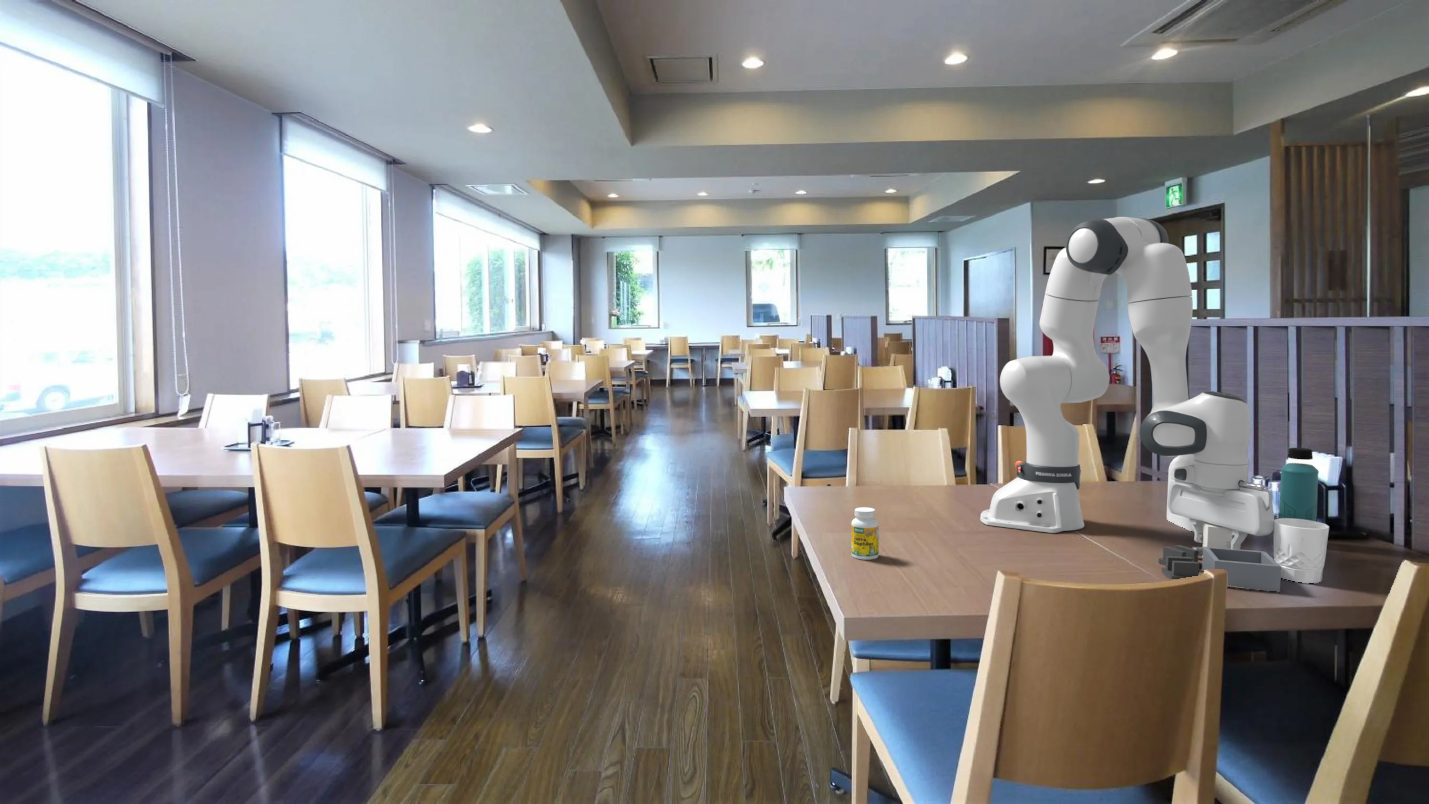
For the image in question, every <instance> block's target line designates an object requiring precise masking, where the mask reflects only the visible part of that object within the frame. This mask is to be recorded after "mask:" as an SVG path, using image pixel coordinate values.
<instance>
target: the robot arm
mask: <svg viewBox="0 0 1429 804" xmlns="http://www.w3.org/2000/svg"><path fill="white" fill-rule="evenodd" d="M1186 261H1187V260H1186V257H1185V254H1184V253H1183V250H1182V249H1181V248H1180V247H1179V246H1177V245H1174V244H1171V243H1169V235H1168V232H1167V230H1166V229H1165V227H1163V226H1162V225H1161V224H1160V223H1159V222H1157V221H1155V220H1152V219H1149V218H1146V217H1145V218H1144V217H1139V218H1138V217H1129V216H1117V217H1109V218H1093V219H1088V220H1085V221H1083V222H1081V223H1079V224H1077V225H1076V226H1075V227H1073V229H1072V230H1071V231H1070V232H1069V234H1068V236H1067V239H1066V243H1065V247H1064V248H1062V249H1061V250H1060V251H1058V253H1057V255H1056V257H1055V259H1054V261H1053V265H1052V267H1051V270H1050V272H1049V277H1048V280H1047V283H1046V287H1045V292H1044V297H1043V302H1042V307H1041V308H1042V309H1041V312H1040V318H1039V329H1040V330H1041V331H1042V333H1043V335H1045V336H1046V337H1047V338H1049V339H1050V340H1052V345H1053V352H1052V355H1031V356H1023V357H1021V358H1016V359H1013V360H1010V361H1008V362H1007V363H1006V364H1005V365H1004V366H1003V368H1002V370H1001V373H1000V377H999V386H1000V390H1001V391H1002V394H1003V395H1004V396H1005V399H1007V400H1009V401H1010V402H1011V403H1012V404H1013V405H1014V406H1015V408H1016V409H1017V410H1018V411H1019V413H1020V415H1021V418H1022V421H1023V424H1024V428H1025V436H1026V437H1025V439H1026V442H1025V443H1026V461H1022V460H1018V461H1016V462H1015V465H1014V467H1015V469H1016V477H1015V478H1014V479H1012V480H1011V481H1009V482H1008V483H1006V484H1005V485H1003V486H1001V487H1000V488H999V489H997V490H996V491H995V492H994V494H993V495H992V497H991V501H990V506H989V509H985V510H982V511H981V513H980V517H979V520H980V522H982V524H985V525H987V526H992V527H993V526H995V527H1003V528H1010V529H1017V530H1026V531H1035V532H1042V533H1043V532H1044V533H1051V534H1056V533H1061V532H1064V531H1065V532H1067V531H1075V530H1076V531H1077V530H1080V529H1083V528H1084V527H1085V525H1086V524H1085V522H1084V518H1083V514H1082V510H1081V503H1080V492H1079V491H1080V489H1081V485H1082V484H1081V483H1082V469H1081V464H1080V463H1079V460H1080V459H1079V457H1080V433H1079V430H1078V428H1077V427H1076V426H1075V425H1074V424H1072V423H1070V421H1067V420H1066V418H1065V417H1064V414H1063V412H1062V407H1061V404H1075V403H1077V404H1078V403H1084V402H1088V401H1093V400H1096V399H1099V398H1101V397H1102V396H1103V395H1104V394H1105V393H1106V392H1107V390H1108V388H1109V385H1110V378H1111V377H1110V372H1109V369H1108V367H1107V365H1106V363H1104V361H1102V359H1101V358H1100V357H1099V355H1098V354H1097V350H1096V348H1095V343H1094V342H1095V341H1094V331H1095V330H1094V329H1095V325H1096V318H1097V317H1096V316H1097V312H1098V307H1099V302H1100V297H1101V293H1102V287H1103V283H1104V281H1105V279H1106V278H1107V277H1108V276H1110V275H1113V274H1117V275H1119V276H1121V277H1122V278H1123V280H1124V282H1125V286H1126V298H1127V312H1128V319H1129V322H1130V327H1131V330H1132V333H1133V336H1134V338H1135V340H1136V341H1137V342H1138V343H1139V344H1140V346H1141V347H1142V349H1143V350H1144V352H1145V354H1146V356H1147V359H1148V362H1149V366H1150V373H1151V374H1150V375H1151V383H1152V384H1151V385H1152V394H1153V395H1152V396H1153V403H1152V408H1151V410H1150V413H1149V414H1147V416H1146V417H1145V418H1144V419H1143V420H1142V422H1141V424H1140V426H1139V433H1138V434H1139V438H1140V441H1141V443H1142V445H1143V446H1144V447H1145V448H1146V449H1147V450H1148V451H1150V453H1153V454H1154V455H1157V456H1161V457H1169V458H1171V457H1172V458H1173V457H1177V456H1179V455H1188V454H1193V456H1194V465H1189V466H1185V467H1179V468H1173V469H1171V472H1170V475H1171V478H1172V479H1174V480H1173V481H1172V482H1171V483H1170V486H1169V493H1168V492H1167V496H1168V507H1169V509H1170V511H1171V513H1173V514H1177V515H1180V516H1184V517H1188V518H1190V525H1191V527H1192V529H1193V531H1194V532H1193V533H1194V539H1193V540H1194V542H1196V543H1200V544H1203V527H1202V524H1204V522H1207V523H1210V524H1214V525H1218V526H1222V527H1225V528H1229V529H1232V536H1233V537H1232V541H1231V542H1226V546H1227V547H1226V548H1227V549H1239V550H1241V548H1242V547H1241V546H1242V545H1241V544H1242V543H1243V542H1244V541H1245V539H1247V537H1248V534H1249V535H1253V536H1256V537H1260V536H1261V537H1262V536H1268V535H1269V536H1270V535H1271V533H1273V531H1274V520H1275V513H1274V505H1273V493H1272V492H1271V491H1270V490H1269V489H1268V488H1267V487H1266V486H1265V485H1264V484H1260V483H1253V482H1250V481H1249V470H1250V469H1249V467H1250V466H1249V464H1250V460H1249V456H1248V447H1249V444H1250V442H1251V413H1250V407H1249V404H1248V403H1247V401H1246V400H1244V399H1243V398H1242V397H1241V396H1237V395H1235V394H1232V393H1226V392H1221V391H1213V390H1210V391H1209V390H1206V391H1203V392H1201V393H1200V394H1198V395H1196V396H1194V397H1192V398H1190V394H1189V386H1188V375H1187V373H1188V372H1187V362H1186V361H1187V360H1186V355H1187V348H1188V344H1189V339H1190V334H1191V330H1192V323H1193V322H1192V321H1193V311H1194V310H1193V308H1194V307H1193V302H1194V301H1193V292H1192V283H1191V278H1190V277H1191V276H1190V272H1189V268H1188V265H1187V264H1188V263H1187V262H1186Z"/></svg>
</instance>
